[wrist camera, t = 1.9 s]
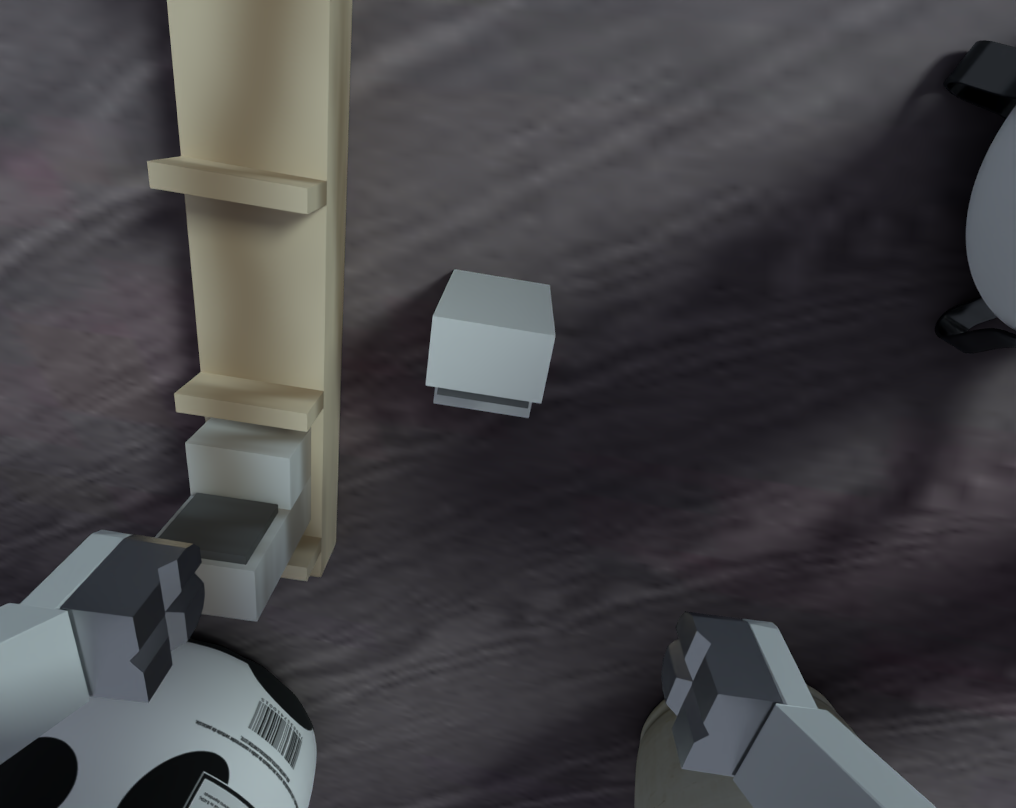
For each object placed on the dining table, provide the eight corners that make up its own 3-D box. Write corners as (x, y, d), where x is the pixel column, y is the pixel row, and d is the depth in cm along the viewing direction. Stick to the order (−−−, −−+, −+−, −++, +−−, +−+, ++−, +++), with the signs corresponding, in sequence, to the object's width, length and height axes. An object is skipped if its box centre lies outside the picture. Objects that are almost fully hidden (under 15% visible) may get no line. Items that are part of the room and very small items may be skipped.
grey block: (549, 285, 24) (555, 335, 19) (528, 391, 26) (528, 464, 21) (454, 268, 24) (432, 315, 19) (441, 378, 26) (418, 447, 21)
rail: (356, -150, 18) (232, -332, 11) (335, 543, 31) (273, 685, 23) (193, -182, 18) (-51, -390, 10) (240, 529, 31) (146, 668, 23)
